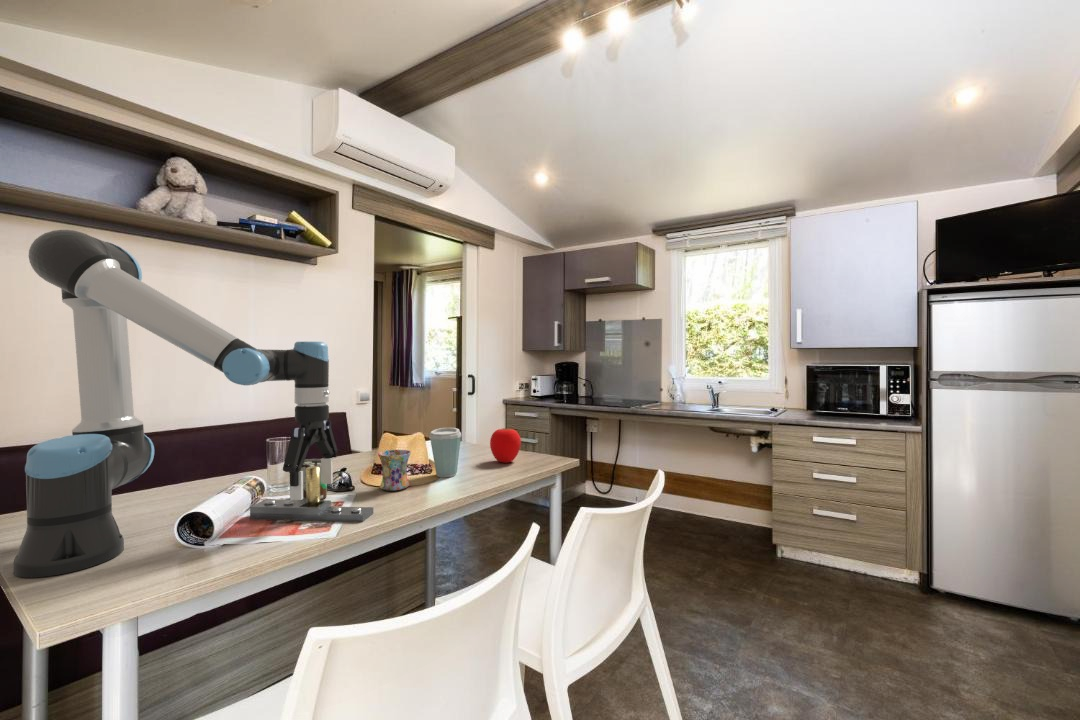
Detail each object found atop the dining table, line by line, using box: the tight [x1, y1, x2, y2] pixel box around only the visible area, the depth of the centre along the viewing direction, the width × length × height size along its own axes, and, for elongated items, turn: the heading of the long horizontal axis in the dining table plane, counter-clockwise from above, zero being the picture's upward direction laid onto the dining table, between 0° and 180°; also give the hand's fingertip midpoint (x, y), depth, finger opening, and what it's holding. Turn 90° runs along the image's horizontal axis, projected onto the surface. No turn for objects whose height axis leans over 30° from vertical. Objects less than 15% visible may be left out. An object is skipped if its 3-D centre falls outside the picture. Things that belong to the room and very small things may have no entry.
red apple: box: [489, 426, 522, 464], centre depth 174 cm, size 11×11×13 cm
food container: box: [300, 458, 328, 500], centre depth 132 cm, size 12×6×10 cm, turn 47°
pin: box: [306, 466, 320, 507], centre depth 116 cm, size 3×3×12 cm
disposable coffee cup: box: [428, 427, 462, 478], centre depth 156 cm, size 11×11×15 cm
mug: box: [377, 449, 412, 492], centre depth 141 cm, size 12×9×11 cm
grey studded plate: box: [249, 498, 374, 523], centre depth 116 cm, size 28×6×4 cm, turn 86°
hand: (312, 491), depth 116 cm, fingers open, 13 cm apart
